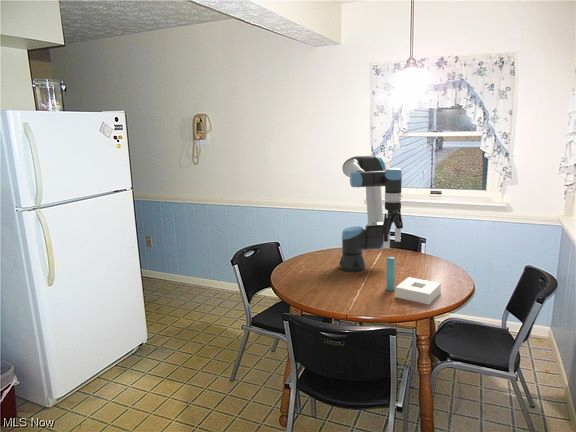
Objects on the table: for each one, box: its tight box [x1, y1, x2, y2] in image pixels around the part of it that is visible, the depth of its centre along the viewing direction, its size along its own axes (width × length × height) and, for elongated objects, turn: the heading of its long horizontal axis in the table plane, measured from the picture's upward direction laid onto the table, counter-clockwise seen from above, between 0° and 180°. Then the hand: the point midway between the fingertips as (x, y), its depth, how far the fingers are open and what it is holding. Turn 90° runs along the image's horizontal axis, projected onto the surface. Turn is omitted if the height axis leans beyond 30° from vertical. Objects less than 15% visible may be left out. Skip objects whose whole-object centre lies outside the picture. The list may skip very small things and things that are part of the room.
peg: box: [385, 256, 396, 292], centre depth 208 cm, size 4×4×16 cm
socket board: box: [394, 276, 442, 305], centre depth 201 cm, size 16×16×5 cm
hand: (392, 244), depth 205 cm, fingers open, 13 cm apart
